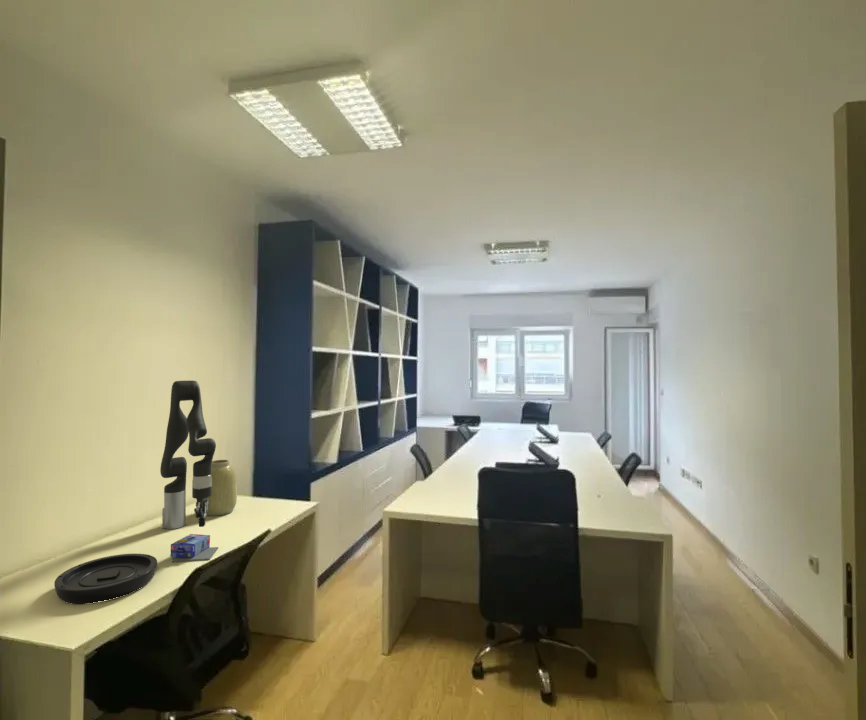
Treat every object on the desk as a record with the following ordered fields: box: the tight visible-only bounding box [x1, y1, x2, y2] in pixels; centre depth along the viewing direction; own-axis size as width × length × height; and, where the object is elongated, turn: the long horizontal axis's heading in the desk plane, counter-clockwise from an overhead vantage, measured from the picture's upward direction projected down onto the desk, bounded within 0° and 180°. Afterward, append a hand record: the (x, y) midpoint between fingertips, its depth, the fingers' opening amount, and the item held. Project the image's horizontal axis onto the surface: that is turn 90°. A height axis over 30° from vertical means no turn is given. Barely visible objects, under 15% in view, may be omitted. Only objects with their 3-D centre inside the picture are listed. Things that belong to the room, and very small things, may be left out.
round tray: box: [53, 553, 158, 605], centre depth 167 cm, size 30×6×30 cm
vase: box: [206, 459, 238, 517], centre depth 250 cm, size 17×17×27 cm
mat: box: [171, 546, 219, 563], centre depth 193 cm, size 14×12×1 cm
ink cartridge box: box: [170, 533, 211, 558], centre depth 194 cm, size 10×6×14 cm
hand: (202, 526), depth 200 cm, fingers closed
